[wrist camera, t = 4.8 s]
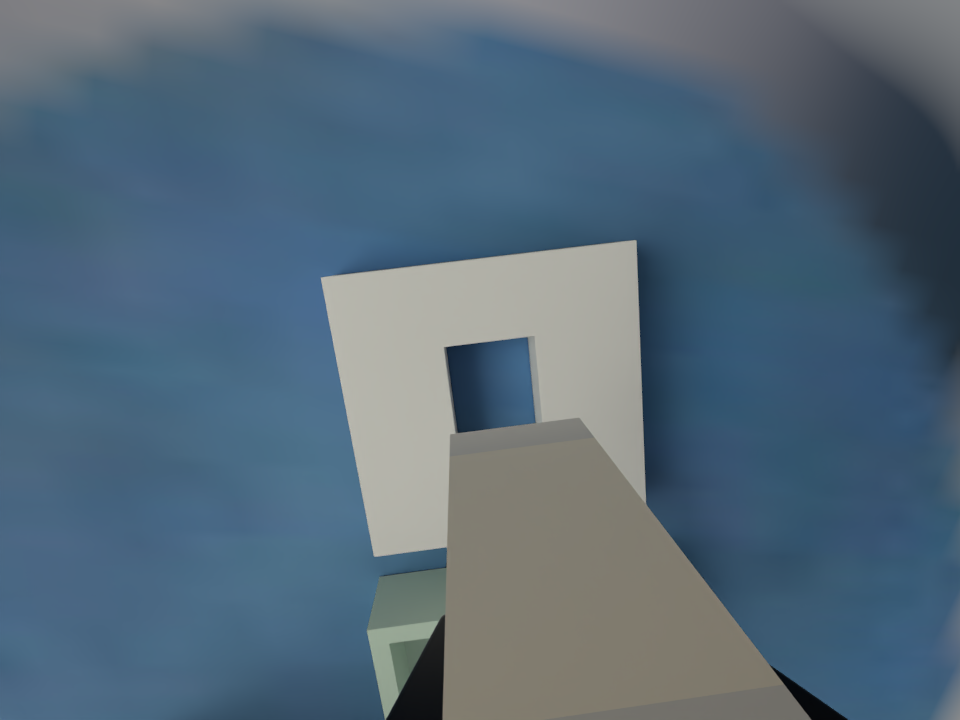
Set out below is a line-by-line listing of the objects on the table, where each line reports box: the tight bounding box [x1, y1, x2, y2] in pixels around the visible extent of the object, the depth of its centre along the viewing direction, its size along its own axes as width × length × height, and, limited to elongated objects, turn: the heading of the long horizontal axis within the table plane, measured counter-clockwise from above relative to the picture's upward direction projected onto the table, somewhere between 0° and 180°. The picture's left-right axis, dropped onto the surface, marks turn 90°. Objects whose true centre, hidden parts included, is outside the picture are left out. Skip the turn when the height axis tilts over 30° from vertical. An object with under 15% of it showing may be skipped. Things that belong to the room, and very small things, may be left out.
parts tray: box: [367, 568, 447, 720], centre depth 22 cm, size 13×13×3 cm
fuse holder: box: [321, 240, 646, 557], centre depth 20 cm, size 12×12×2 cm
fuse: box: [443, 418, 811, 720], centre depth 7 cm, size 5×3×8 cm, turn 7°
